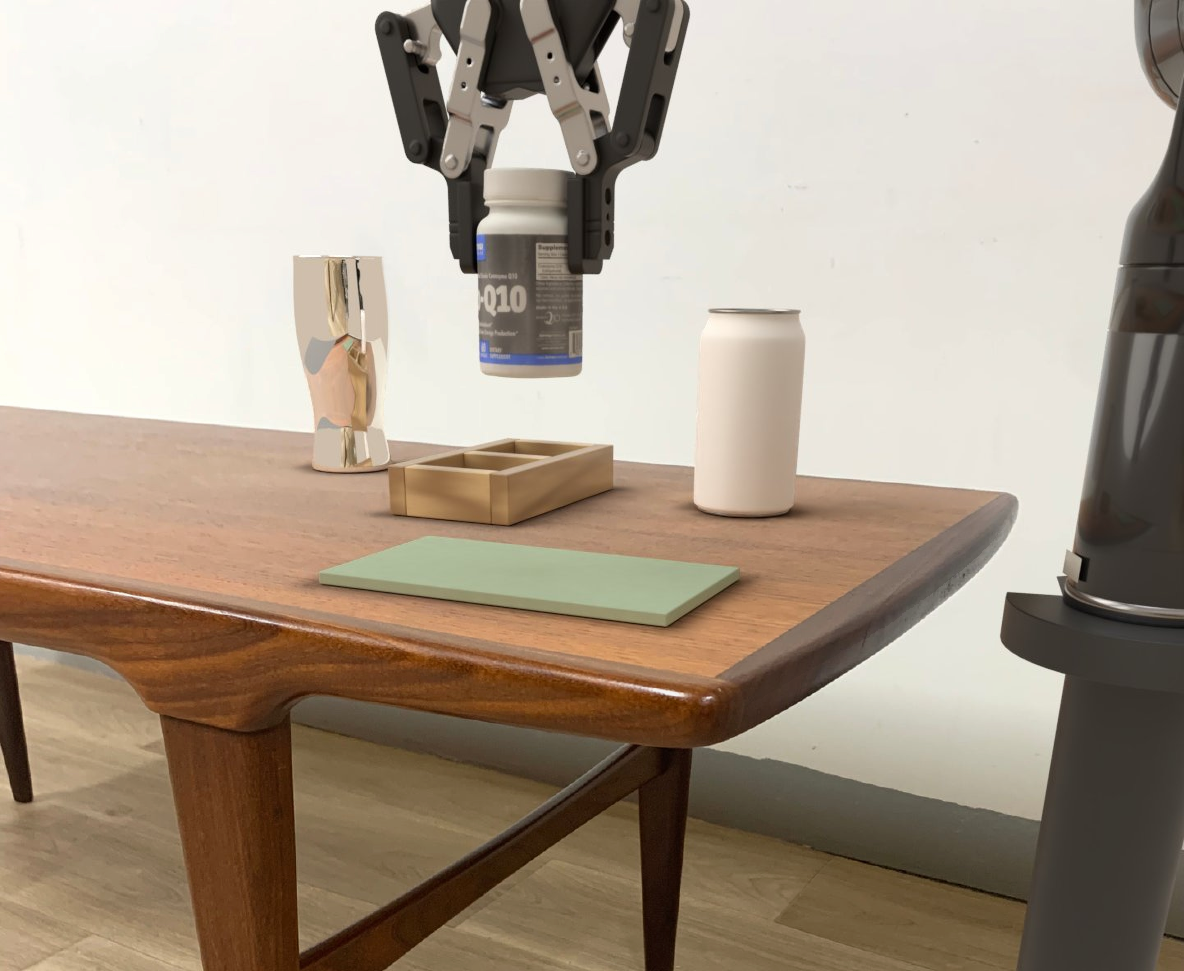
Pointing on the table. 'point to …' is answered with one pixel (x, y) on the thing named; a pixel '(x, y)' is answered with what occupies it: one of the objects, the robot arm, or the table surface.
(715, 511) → the can
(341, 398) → the beer glass
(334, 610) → the table surface
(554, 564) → the mat
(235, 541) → the table surface
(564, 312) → the pill bottle
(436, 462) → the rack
